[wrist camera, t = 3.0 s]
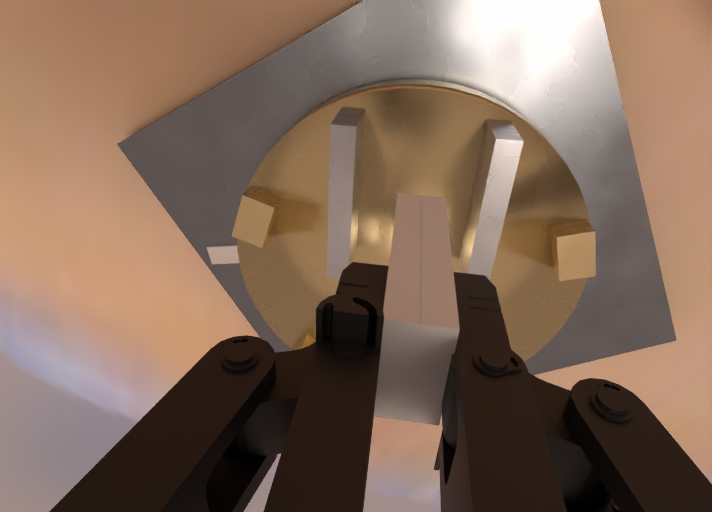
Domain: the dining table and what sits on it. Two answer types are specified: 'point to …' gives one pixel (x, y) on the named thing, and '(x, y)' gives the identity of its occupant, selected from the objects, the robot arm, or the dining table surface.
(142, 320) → the dining table surface
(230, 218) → the base plate
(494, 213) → the ring nut
